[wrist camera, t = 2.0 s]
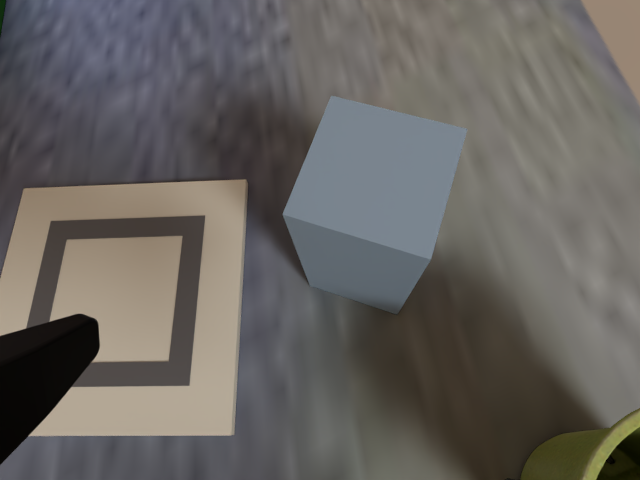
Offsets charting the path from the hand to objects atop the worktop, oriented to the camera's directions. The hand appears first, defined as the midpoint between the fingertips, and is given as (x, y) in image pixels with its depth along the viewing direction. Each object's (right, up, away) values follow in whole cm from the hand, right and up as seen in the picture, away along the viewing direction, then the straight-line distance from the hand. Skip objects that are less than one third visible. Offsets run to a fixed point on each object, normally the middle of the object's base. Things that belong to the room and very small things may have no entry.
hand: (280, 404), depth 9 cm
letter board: (-11, 0, +15) cm, 18 cm away
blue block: (+3, +2, +15) cm, 16 cm away
